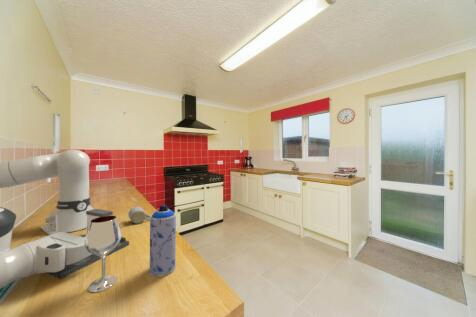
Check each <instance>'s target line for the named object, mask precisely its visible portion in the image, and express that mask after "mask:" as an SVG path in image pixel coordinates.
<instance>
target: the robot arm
mask: <svg viewBox="0 0 476 317" xmlns="http://www.w3.org/2000/svg"><path fill="white" fill-rule="evenodd" d="M90 163H91V158H90V156H89V155H88V153H86V152H84V151H82V150H79V149H67V150H64V151H63V152H56V153H49V154H41V155H36V156H29V157H23V158H18V159H12V160H6V161H0V189H4V188H11V187H16V186H20V185H25V184H29V183H33V182H38V181H42V180H48V179H52V178H55V177H58V178H57V179H58V201H56V202H57V203H56V207H55V208H56V209H55V210H54V211H52V213H50V214H49V215H48V216H47V217H46V218H45V224H44V225H41V226H40V229H41V230H42V231H43V232H44V233H46V236H43V237H41V238H38V239H36V240H32V241H29V242H26V243H23V244H19V245H18V246H15V247H13V248H11V244H12V238H13V237H12V236H13V230H14V228H15V223H16V219H17V215H16V213H15V212H13V211H12V210H11V209H8V208H5V207H1V206H0V290H1V289H3V288H5V287H7V285H9V284H11V283H13V282H15V281H19V280H21V279H22V280H23V279H26V278H28V277H31V276H33V275H35V274H43V273H44V272H58V271H61V270H63V269H64V268H65V265H70V264H73V263H75V262H78V261H80V260H82V259H84V258H86V257H88V256H90V255H92V253H90V252H88V251H87V250H86V249H85V246H84V241H85V237H86V233H84V234H73V233H72V232H77V231H81V230H83V229H84V230H85V229H87V214H86V211H89V210H93V206H92V205H91V201H92V200H91V197H90Z"/></svg>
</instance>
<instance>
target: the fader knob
mask: <svg viewBox="0 0 476 317" xmlns="http://www.w3.org/2000/svg"><path fill="white" fill-rule="evenodd" d="M113 213H114V212H113V210H106V209H100V208H94V209H93V210H89V211H86V214H87V228H86V231H87V230H88V227H89V224H90V221H91V220H93V219H95V218H98V217H103V216H114V215H113Z"/></svg>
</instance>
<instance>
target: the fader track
mask: <svg viewBox="0 0 476 317" xmlns="http://www.w3.org/2000/svg"><path fill="white" fill-rule="evenodd" d="M128 246H130V241H129V240H126V237H124V236H122V237H121V240H120V242H119V244H118V245H117V246H116V247H115V248H114V249H113V250H112V251H111V252H110V253H109V254H108V255H107V256H106V257H108V256H110V255H112V254H113V253H116V252H117V251H119V250H121V249H123V248H126V247H128ZM100 260H102V259H101V257H99V256H97V255H94V254H92V255H90V256H88V257H86V258H84V259H82V260H80V261H78V262H75V263H73V264H70V265H65V268H64V269H63V270H61V271H58V272H44V273H45V274H47V275H49V276H52V277H54V278H56V279H58V280H62V279H64V278H66V277H68V276H70V275H72V274H74V273H77V271H81V269H83V268H86V267H88V266H89V265H91V264H93V263H96V262H97V261H100Z"/></svg>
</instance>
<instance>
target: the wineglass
mask: <svg viewBox="0 0 476 317" xmlns="http://www.w3.org/2000/svg"><path fill="white" fill-rule="evenodd" d="M122 233H123V232H122V229H121V226H120V224H119V219H118V216H116V215H112V216H103V217H98V218H95V219H93V220H91V221H90V224H89V227H88V230H87V229H86V233H85V234H86V237H85V241H84V246H85V249H86V250H87V251H88V252H90V253H92V254H94V255H97V256H99V257H101V259H100V260H101V277H99V278H97V279H95V280H93V281H92V282H91V283H90V284H89V285H88V287H87V291H88V292H89V293H100V292H103V291H106V290H108V289H109V288H112V287H113V286H114V285H115V284H116V283H117V281H118V276H117V275H115V274H109V275H106V261H107V260H106V258H107V257H108V256H109V255H108V254H109V253H110V252H111V251H112V250H113V249H114V248H115V247H116V246H117V245H118V244H119V242H120V240H121V237H123V234H122ZM107 255H108V256H107Z"/></svg>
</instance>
